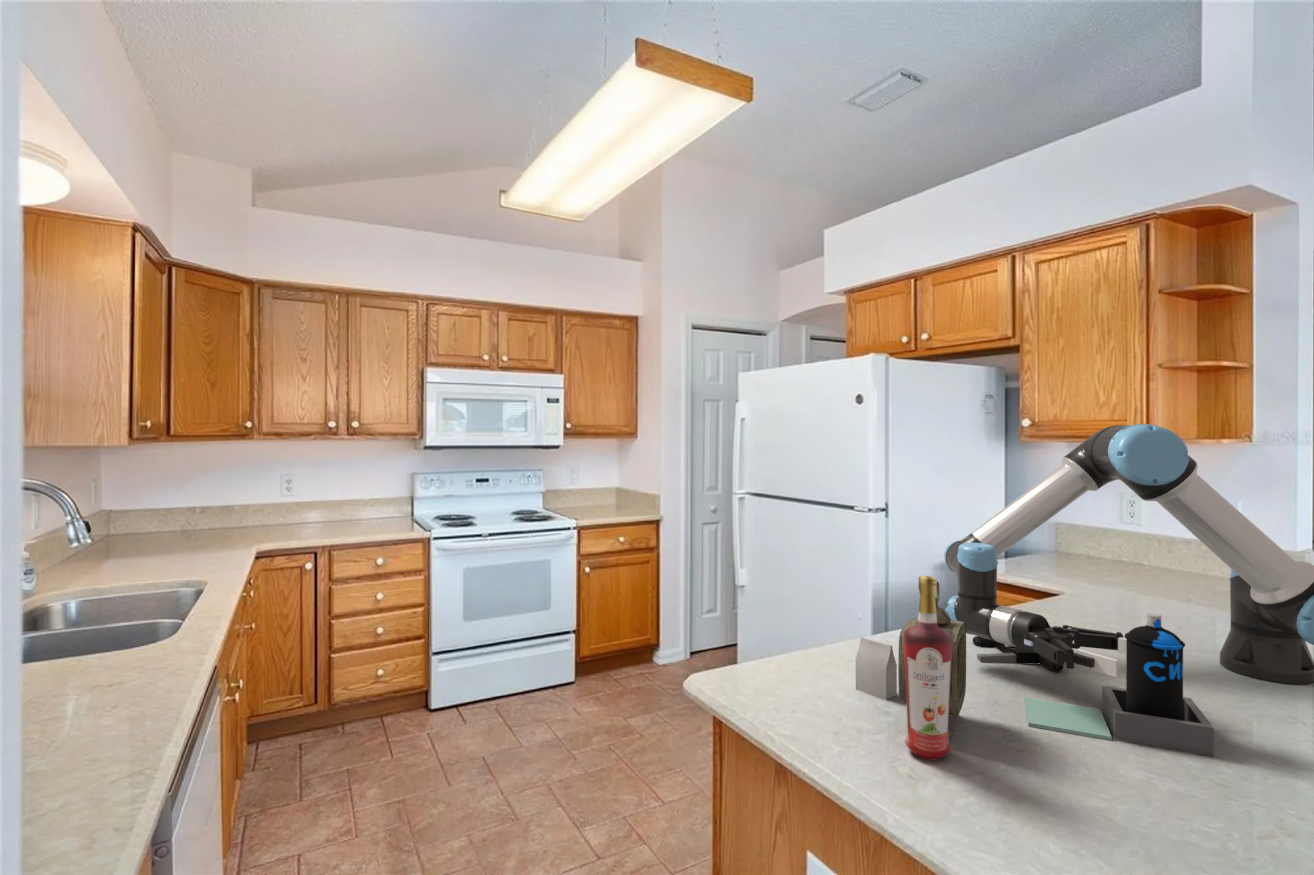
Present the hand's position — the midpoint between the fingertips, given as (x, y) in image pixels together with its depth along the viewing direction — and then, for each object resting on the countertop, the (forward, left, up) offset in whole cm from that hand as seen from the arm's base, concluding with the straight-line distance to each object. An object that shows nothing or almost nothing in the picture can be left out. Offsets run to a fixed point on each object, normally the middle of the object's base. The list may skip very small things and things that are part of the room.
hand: (1139, 661), depth 113 cm
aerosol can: (-2, +1, -12) cm, 12 cm away
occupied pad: (+11, +2, -11) cm, 16 cm away
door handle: (+19, -31, -12) cm, 38 cm away
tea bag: (+43, +4, -12) cm, 45 cm away
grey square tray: (-2, +1, -11) cm, 12 cm away
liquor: (+32, +26, -12) cm, 43 cm away
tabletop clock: (+32, +14, -12) cm, 37 cm away
